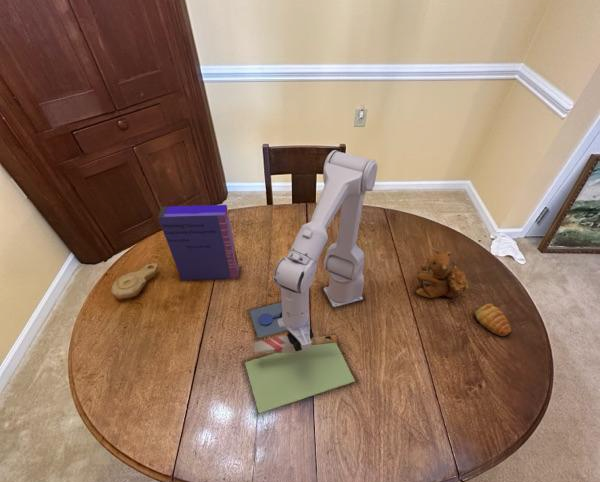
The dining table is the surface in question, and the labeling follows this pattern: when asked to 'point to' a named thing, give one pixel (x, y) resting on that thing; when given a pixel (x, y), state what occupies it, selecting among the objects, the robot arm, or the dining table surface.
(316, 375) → the brush mat
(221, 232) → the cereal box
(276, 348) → the paintbrush
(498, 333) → the pastry
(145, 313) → the dining table surface
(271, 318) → the spoon
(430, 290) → the stuffed squirrel
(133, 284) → the oil lamp
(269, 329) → the spoon pad
